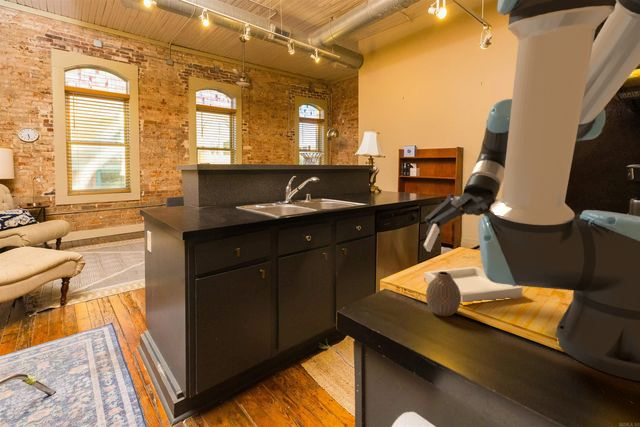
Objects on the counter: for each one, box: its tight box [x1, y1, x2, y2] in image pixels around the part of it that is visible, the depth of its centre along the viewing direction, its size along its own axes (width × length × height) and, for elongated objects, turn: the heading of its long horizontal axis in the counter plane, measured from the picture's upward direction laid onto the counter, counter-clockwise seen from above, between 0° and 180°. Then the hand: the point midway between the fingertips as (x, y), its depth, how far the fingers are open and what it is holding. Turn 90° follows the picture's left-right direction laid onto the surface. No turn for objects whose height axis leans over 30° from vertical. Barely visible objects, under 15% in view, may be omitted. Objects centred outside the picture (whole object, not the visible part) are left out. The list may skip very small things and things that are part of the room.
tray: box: [423, 265, 524, 302], centre depth 81 cm, size 16×16×2 cm
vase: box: [425, 271, 461, 317], centre depth 69 cm, size 7×7×9 cm
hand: (454, 254), depth 73 cm, fingers open, 13 cm apart
